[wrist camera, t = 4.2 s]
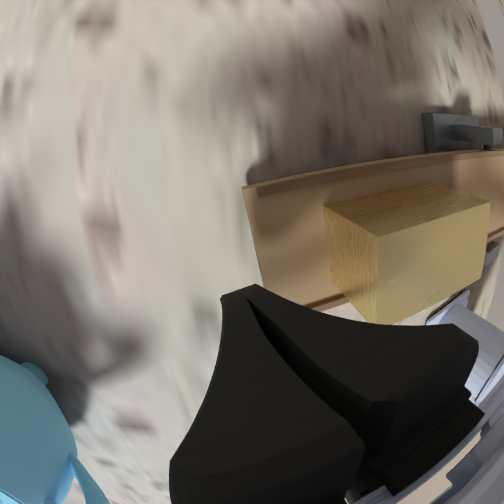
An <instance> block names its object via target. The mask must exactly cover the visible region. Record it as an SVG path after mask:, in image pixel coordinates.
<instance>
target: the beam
mask: <svg viewBox="0 0 504 504" xmlns="http://www.w3.org/2000/svg"><path fill="white" fill-rule="evenodd" d="M483 147H484V149H475V150H462V151H450V152H440V153H430V154H421V155H413V156H405V157H397V158H390V159H383V160H376V161H369V162H363V163H357V164H351V165H345V166H339V167H334V168H328V169H323V170H318V171H313V172H307V173H302V174H298V175H293V176H288V177H283V178H279V179H274V180H270V181H265V182H261V183H256V184H252V185H248V186H244V187H242V192H243V196H244V201H245V205H246V209H247V214H248V218H249V223H250V227H251V232H252V236H253V241H254V245H255V250H256V254H257V259H258V263H259V268H260V272H261V276H262V281H263V285H264V288H265V289H267V290H269V291H271V292H273V293H275V294H277V295H279V296H281V297H283V298H285V299H288V300H290V301H292V302H295V303H297V304H300V305H302V306H305V307H307V308H310V309H313V310H316V311H319V312H321V311H324V310H327V309H330V308H333V307H336V306H339V305H342V304H345V303H348V302H349V300H348V299H347V298H346V297H345V296H344V295H343V294H342V293H341V291H340V290H339V289H338V288H337V287H336V286H335V285H334V284H333V282H332V281H331V275H330V264H329V254H328V244H327V235H326V226H325V218H324V210H323V205H328V204H332V203H336V202H340V201H345V200H349V199H354V198H358V197H363V196H367V195H372V194H376V193H381V192H385V191H390V190H395V189H400V188H404V187H409V186H414V185H419V184H424V183H429V182H431V183H434V184H438V185H441V186H444V187H448V188H451V189H454V190H458V191H461V192H464V193H467V194H470V195H473V196H476V197H479V198H482V199H484V200H487V201H490V217H489V228H488V237H487V243H488V242H490V241H492V240H494V239H496V238H498V237H500V236H502V235H504V148H493V149H492V147H491V146H489V145H483Z"/></svg>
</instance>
